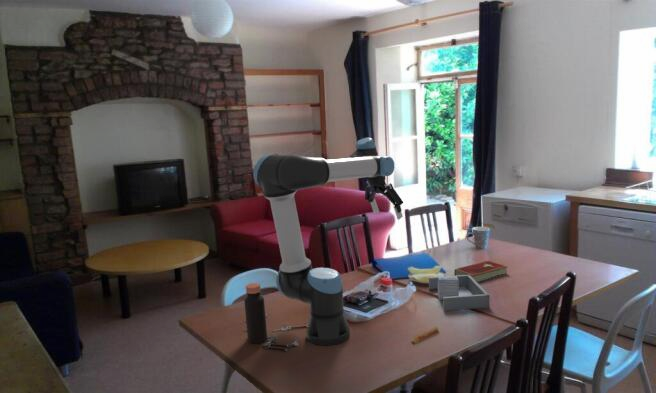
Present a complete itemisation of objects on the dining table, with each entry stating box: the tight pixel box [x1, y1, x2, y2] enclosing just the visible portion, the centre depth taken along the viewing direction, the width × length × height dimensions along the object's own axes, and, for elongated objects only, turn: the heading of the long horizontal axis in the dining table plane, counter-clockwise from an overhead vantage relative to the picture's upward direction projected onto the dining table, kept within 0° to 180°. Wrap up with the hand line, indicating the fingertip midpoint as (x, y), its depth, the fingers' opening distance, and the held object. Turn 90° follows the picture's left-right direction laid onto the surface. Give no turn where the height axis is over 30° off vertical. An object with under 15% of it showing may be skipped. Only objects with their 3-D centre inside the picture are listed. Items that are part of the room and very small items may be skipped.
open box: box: [428, 275, 490, 311], centre depth 202 cm, size 24×18×5 cm
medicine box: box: [437, 275, 460, 301], centre depth 201 cm, size 8×4×9 cm, turn 84°
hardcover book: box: [453, 260, 508, 283], centre depth 227 cm, size 12×21×4 cm, turn 118°
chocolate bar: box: [410, 326, 440, 344], centre depth 169 cm, size 3×12×2 cm, turn 127°
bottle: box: [243, 282, 268, 344], centre depth 173 cm, size 7×7×20 cm
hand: (388, 215), depth 216 cm, fingers open, 13 cm apart
